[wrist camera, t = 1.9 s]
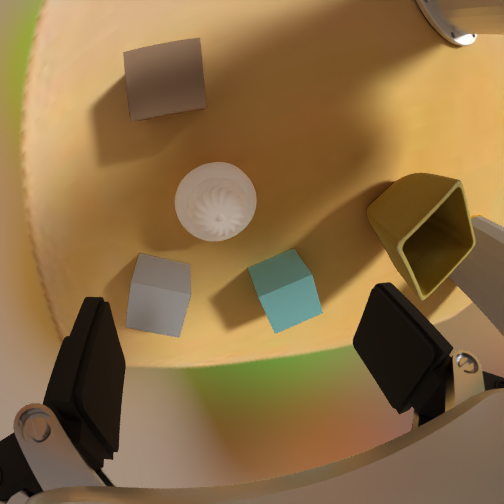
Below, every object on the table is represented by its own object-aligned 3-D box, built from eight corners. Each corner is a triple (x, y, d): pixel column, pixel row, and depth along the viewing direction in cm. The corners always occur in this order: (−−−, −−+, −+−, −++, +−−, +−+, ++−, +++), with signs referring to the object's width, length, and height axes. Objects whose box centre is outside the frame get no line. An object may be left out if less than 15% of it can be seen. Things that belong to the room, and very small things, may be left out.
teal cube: (247, 267, 28) (258, 297, 24) (293, 247, 28) (312, 274, 24) (263, 302, 31) (274, 333, 26) (305, 284, 31) (322, 312, 26)
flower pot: (342, 206, 27) (396, 247, 19) (399, 154, 26) (462, 178, 18) (376, 258, 31) (422, 303, 23) (424, 212, 30) (476, 245, 22)
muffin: (235, 230, 26) (250, 269, 20) (169, 215, 24) (163, 252, 18) (257, 166, 24) (281, 186, 18) (188, 147, 22) (185, 160, 16)
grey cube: (139, 252, 25) (131, 282, 21) (190, 263, 27) (191, 294, 22) (132, 294, 27) (125, 327, 23) (179, 304, 29) (179, 337, 24)
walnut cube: (137, 64, 17) (123, 52, 13) (198, 53, 18) (199, 37, 14) (143, 120, 20) (130, 121, 15) (203, 109, 20) (206, 107, 16)
